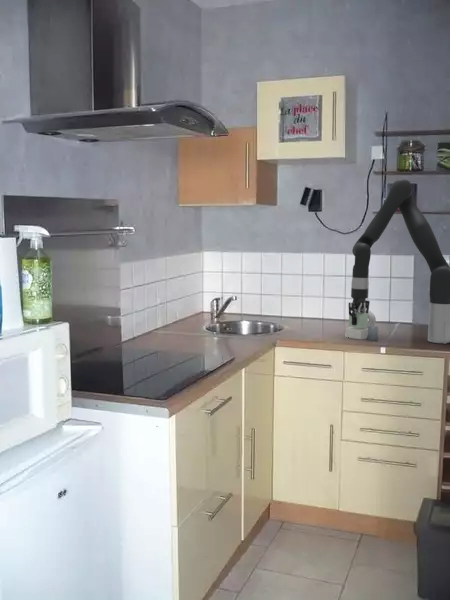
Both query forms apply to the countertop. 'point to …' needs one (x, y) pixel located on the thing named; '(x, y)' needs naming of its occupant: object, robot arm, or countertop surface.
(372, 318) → the donut
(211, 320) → the countertop surface
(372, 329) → the charcoal cylinder
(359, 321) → the sage cube
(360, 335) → the ceramic pedestal
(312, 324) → the countertop surface
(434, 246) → the robot arm
